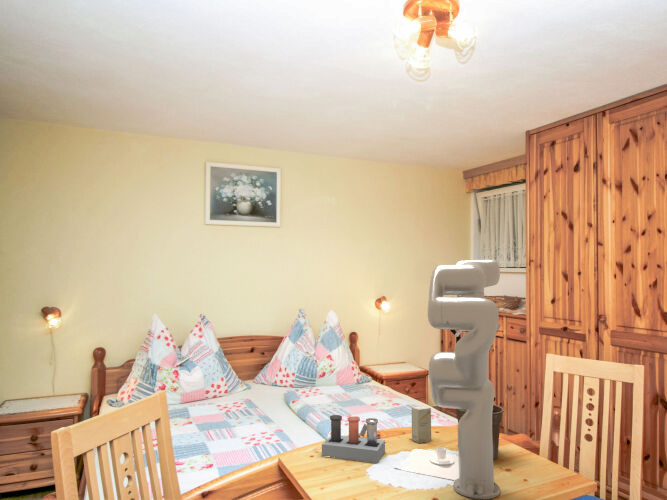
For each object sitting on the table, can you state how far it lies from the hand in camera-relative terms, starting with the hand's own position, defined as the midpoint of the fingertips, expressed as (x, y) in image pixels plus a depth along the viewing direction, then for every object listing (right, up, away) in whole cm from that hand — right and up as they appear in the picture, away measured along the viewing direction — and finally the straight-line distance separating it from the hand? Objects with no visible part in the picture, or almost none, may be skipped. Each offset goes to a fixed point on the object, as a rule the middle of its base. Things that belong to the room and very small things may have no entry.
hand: (474, 348), depth 156 cm
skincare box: (-15, -38, +17) cm, 44 cm away
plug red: (-41, -33, +3) cm, 53 cm away
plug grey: (-35, -33, +1) cm, 48 cm away
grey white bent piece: (-39, -38, +10) cm, 55 cm away
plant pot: (+2, -37, +2) cm, 37 cm away
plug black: (-47, -33, +5) cm, 58 cm away
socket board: (-41, -37, +3) cm, 55 cm away
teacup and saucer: (-15, -36, -6) cm, 40 cm away
